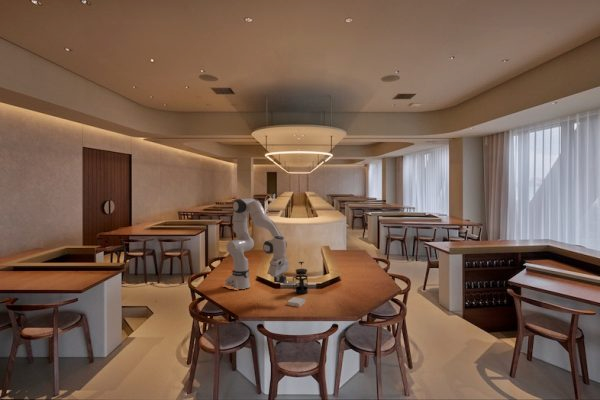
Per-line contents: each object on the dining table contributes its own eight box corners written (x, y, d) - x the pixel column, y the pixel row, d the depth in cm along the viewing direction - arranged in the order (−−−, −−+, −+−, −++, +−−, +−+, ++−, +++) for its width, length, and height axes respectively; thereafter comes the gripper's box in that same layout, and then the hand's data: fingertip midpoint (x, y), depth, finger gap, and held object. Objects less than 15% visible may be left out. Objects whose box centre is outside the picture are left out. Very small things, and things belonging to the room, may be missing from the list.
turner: (272, 282, 214) (272, 276, 214) (277, 280, 219) (277, 274, 219) (292, 285, 207) (292, 279, 207) (296, 282, 212) (296, 277, 212)
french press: (307, 290, 238) (307, 260, 237) (309, 294, 228) (309, 263, 227) (292, 291, 236) (291, 261, 235) (294, 295, 226) (293, 264, 226)
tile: (287, 301, 208) (299, 303, 204) (293, 297, 216) (305, 299, 212) (287, 305, 208) (299, 307, 204) (293, 300, 216) (305, 302, 212)
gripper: (283, 256, 225) (283, 275, 225) (268, 262, 206) (268, 283, 207) (290, 257, 222) (291, 276, 223) (276, 263, 204) (276, 284, 204)
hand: (280, 279), depth 215 cm, fingers closed on turner, 3 cm apart
